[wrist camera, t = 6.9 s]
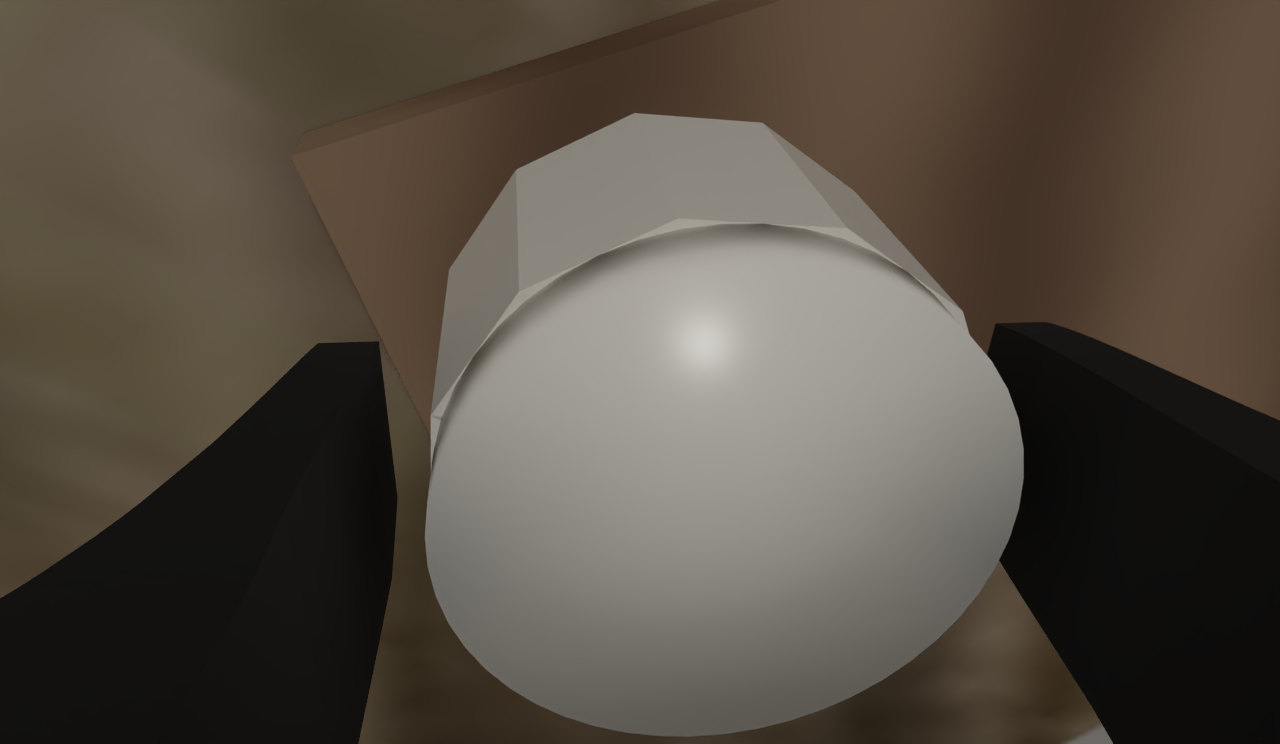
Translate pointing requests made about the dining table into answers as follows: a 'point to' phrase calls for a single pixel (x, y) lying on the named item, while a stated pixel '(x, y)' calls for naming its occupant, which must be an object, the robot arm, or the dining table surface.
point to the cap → (705, 436)
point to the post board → (897, 160)
